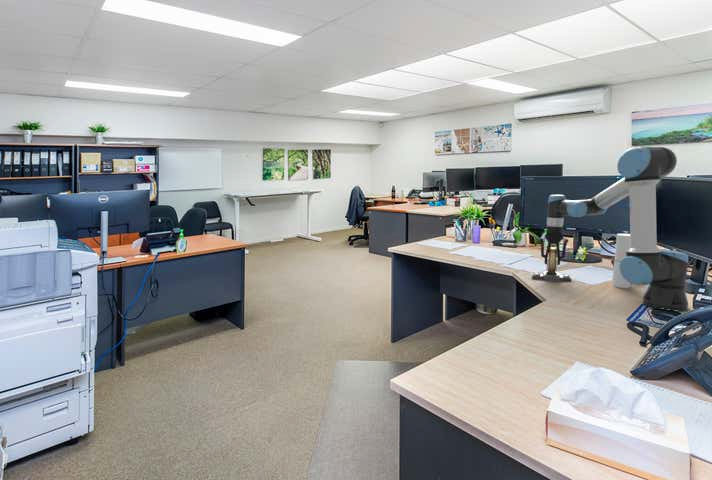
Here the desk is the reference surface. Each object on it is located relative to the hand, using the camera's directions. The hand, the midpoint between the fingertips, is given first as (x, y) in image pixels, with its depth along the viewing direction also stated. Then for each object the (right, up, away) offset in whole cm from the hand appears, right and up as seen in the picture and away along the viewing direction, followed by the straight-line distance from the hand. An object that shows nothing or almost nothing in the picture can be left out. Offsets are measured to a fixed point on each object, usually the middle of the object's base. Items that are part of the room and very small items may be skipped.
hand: (551, 270), depth 212 cm
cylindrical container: (+27, -7, -13) cm, 31 cm away
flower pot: (+36, -4, 0) cm, 36 cm away
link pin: (0, -2, 0) cm, 2 cm away
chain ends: (0, -4, +1) cm, 4 cm away
